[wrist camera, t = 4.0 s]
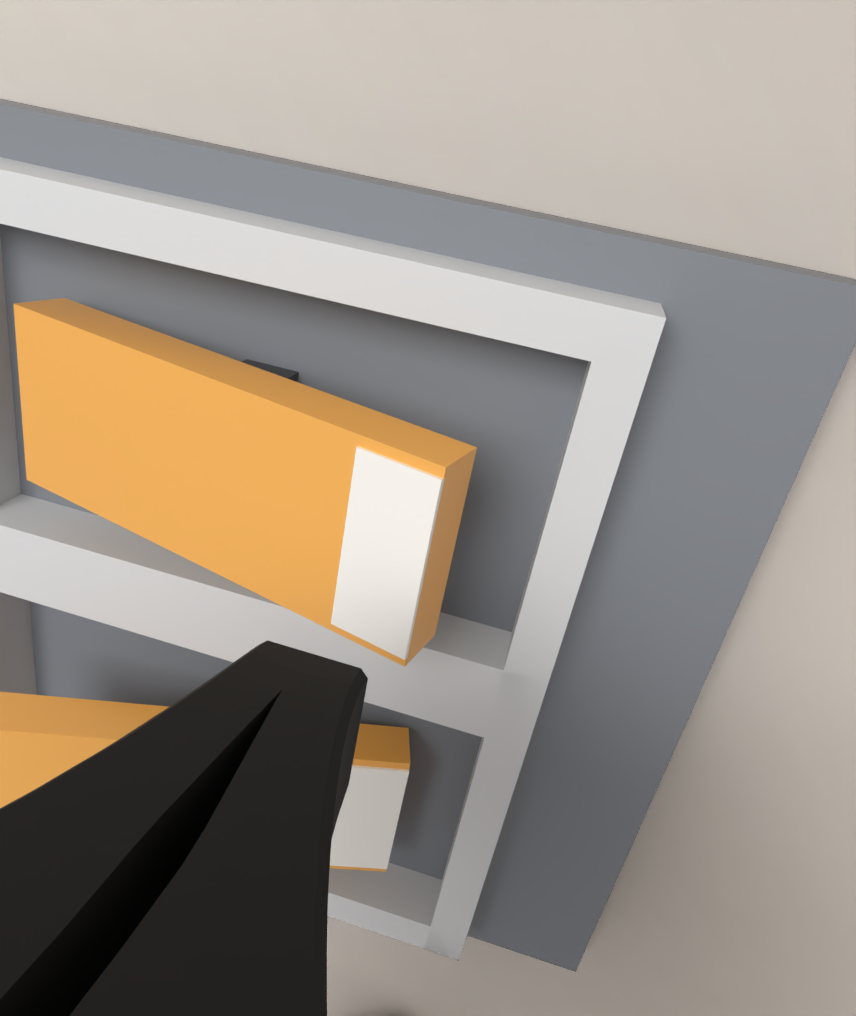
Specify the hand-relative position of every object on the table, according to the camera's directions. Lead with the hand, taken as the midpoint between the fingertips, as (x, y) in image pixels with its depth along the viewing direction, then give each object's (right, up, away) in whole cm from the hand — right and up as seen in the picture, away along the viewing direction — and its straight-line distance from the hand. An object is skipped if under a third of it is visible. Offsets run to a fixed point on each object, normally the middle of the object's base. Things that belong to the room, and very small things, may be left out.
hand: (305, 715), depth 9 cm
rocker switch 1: (-3, +3, +5) cm, 7 cm away
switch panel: (-3, +1, +11) cm, 11 cm away
